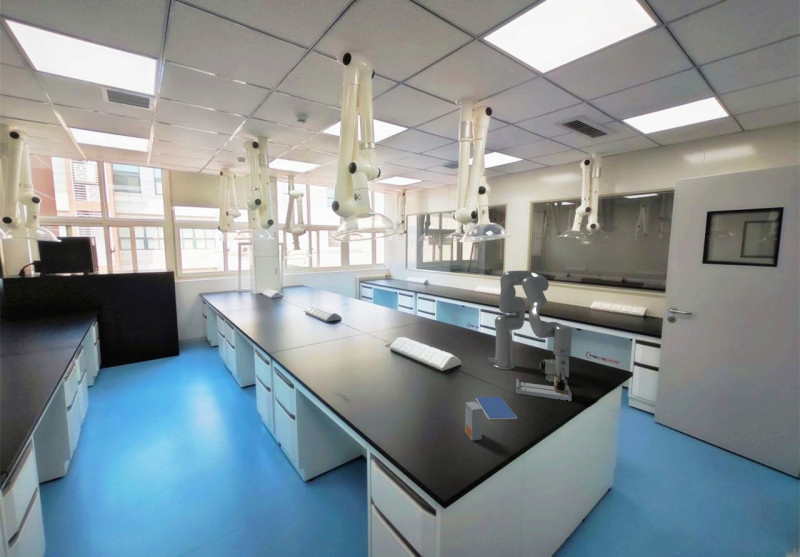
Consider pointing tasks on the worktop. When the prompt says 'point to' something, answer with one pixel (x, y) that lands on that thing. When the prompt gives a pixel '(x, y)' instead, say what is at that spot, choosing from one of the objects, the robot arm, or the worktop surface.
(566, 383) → the fader tab
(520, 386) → the fader track
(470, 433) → the skincare box
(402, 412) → the worktop surface
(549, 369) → the pneumatic valve
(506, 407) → the tablet computer
